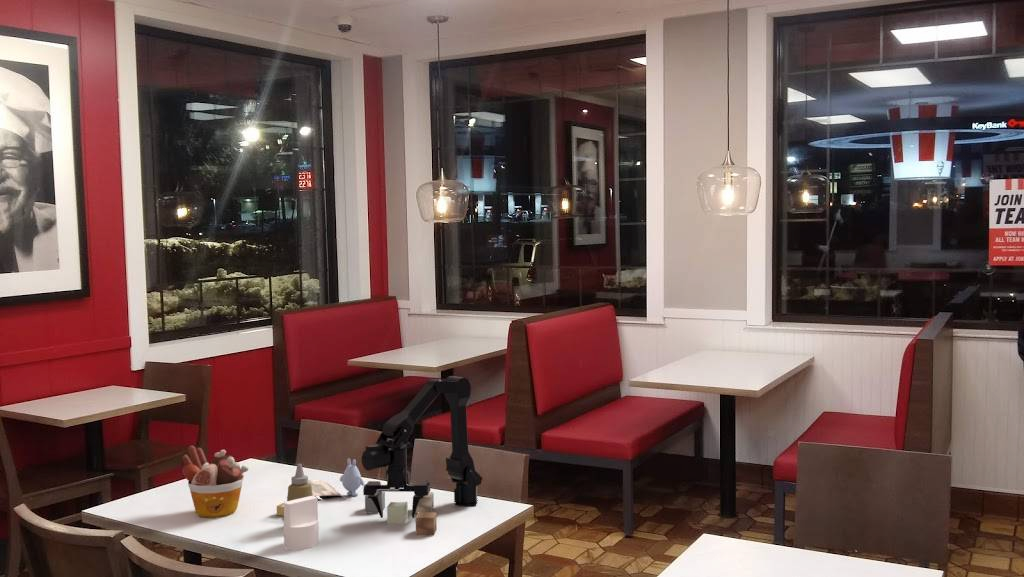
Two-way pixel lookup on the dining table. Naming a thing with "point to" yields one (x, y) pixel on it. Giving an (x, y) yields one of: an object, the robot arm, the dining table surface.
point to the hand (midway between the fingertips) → (397, 517)
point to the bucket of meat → (213, 482)
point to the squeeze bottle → (299, 485)
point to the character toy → (280, 509)
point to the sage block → (397, 513)
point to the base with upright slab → (301, 523)
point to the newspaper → (322, 488)
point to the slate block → (371, 506)
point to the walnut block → (426, 523)
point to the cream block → (426, 503)
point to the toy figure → (351, 478)
